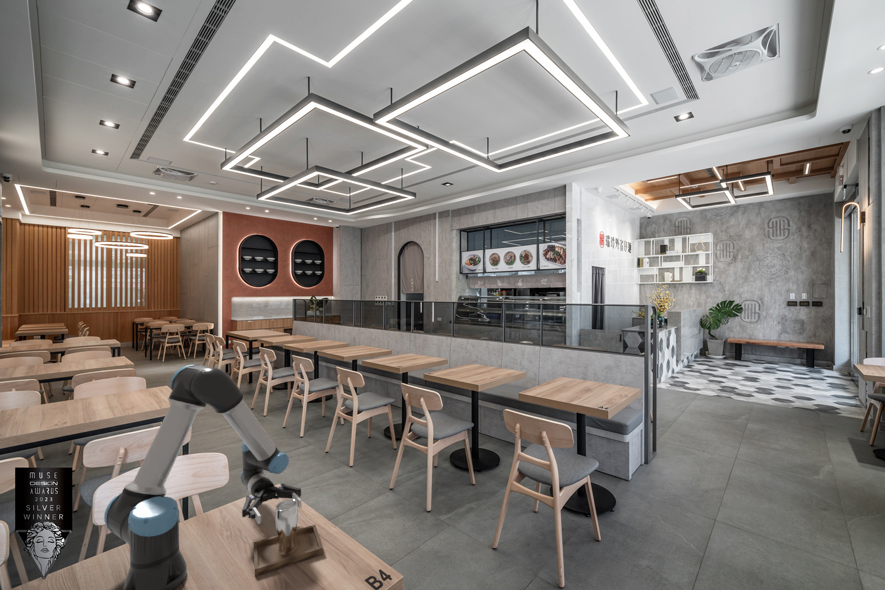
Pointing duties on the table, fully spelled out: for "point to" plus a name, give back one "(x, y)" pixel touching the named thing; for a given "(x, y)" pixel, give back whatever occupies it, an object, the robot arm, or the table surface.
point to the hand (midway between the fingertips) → (280, 511)
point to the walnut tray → (271, 560)
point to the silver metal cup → (286, 526)
